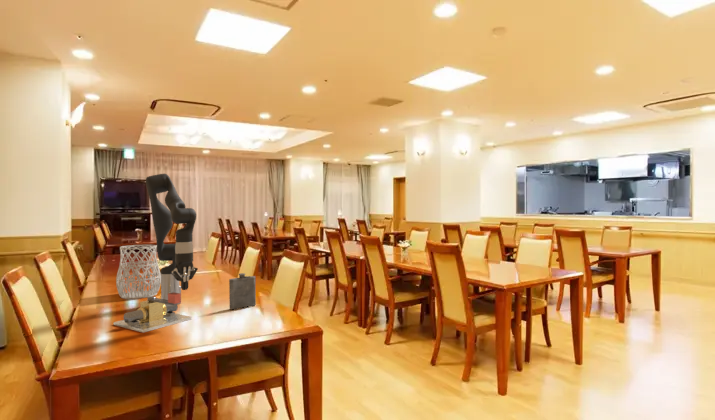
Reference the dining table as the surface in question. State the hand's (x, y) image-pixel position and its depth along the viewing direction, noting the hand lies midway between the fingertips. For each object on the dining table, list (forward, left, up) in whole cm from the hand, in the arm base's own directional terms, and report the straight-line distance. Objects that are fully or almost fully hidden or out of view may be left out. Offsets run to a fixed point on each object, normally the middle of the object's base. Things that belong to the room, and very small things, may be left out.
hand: (184, 289), depth 191 cm
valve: (+5, -17, -16) cm, 24 cm away
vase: (-26, -79, -16) cm, 85 cm away
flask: (-36, -1, -16) cm, 39 cm away
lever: (+5, -8, -6) cm, 11 cm away
